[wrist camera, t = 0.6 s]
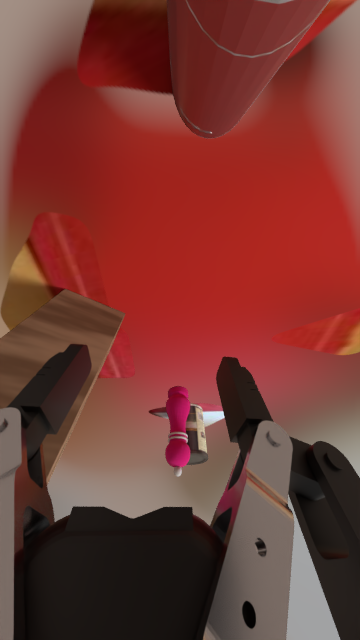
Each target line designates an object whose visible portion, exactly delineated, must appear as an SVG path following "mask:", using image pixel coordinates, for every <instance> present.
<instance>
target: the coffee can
mask: <svg viewBox="0 0 360 640" xmlns="http://www.w3.org/2000/svg"><path fill="white" fill-rule="evenodd" d="M185 429H186V434H187V435H188V437H187V439H188V442H187V445H188V446H189V448H190V459H189V461H188V463H187V464H186V465H194V464H200V463H204V462H206V461H207V460H208V455H207V449H206V439H205V431H204V422H203V413H202V408H201V407H200V406H199V405H196V404H191V403H190V411H189V414H188V417H187V420H186V428H185Z"/></svg>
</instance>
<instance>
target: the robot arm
mask: <svg viewBox="0 0 360 640" xmlns="http://www.w3.org/2000/svg"><path fill="white" fill-rule="evenodd" d="M329 1H330V0H167V15H168V32H169V48H170V66H171V80H172V91H173V96H174V100H175V104H176V107H177V110H178V112H179V114H180V117H181V118H182V120H183V121H184V123H185V125H186V126H187V127H188V128H189V129H190V130H191V131H192V132H193V133H195V134H197V135H198V136H200V137H204V138H216V137H219V136H222V135H224V134H225V133H227V132H229V131H230V130H231V129H232V128H233V127H234V126H235V125H236V124H237V123H238V121H240V119H241V118H242V116H243V115H244V114H245V113H246V111H247V110H248V109H249V108H250V106H251V105H252V104H253V102H254V101H255V100H256V98H257V97H258V95H259V94H260V93H261V92H262V90H263V89H264V88H265V86H266V85H267V83H268V82H269V81H270V80H271V78H272V77H273V76H274V74H275V73H276V72H277V70H278V69H279V68H280V66H281V65H282V64H283V62H284V61H285V60H286V58H287V57H288V56H289V54H290V53H291V52H292V50H293V49H294V48H295V46H296V45H297V44H298V42H299V41H300V40H301V38H302V37H303V36H304V34H305V33H306V32H307V30H308V29H309V28H310V26H311V25H312V24H313V22H314V21H315V20H316V18H317V17H318V16H319V14H320V13H321V12H322V10H323V9H324V8H325V6H326V5H327V4H328V2H329ZM91 367H92V363H91V358H90V354H89V350H88V346H87V345H84V344H70V345H69V346H68V347H67V349H66V350H65V351H64V352H59V353H57V354H56V355H54V356H53V357H51V358H50V359H49V360H48V361H47V362H46V363H45V364H44V365H43V367H42V369H40V370H39V371H38V372H37V373H36V376H34V377H33V378H32V379H31V380H30V381H29V383H28V384H27V385H26V386H25V387H24V388H23V389H22V391H21V392H20V393H19V394H18V395H17V396H16V397H15V399H14V400H13V401H12V402H11V403H10V404H9V405H8V406H7V407H6V408H3V409H0V640H286V632H287V618H288V603H289V590H290V577H291V562H292V548H293V535H294V517H293V513H292V511H291V510H290V509H289V507H288V501H287V500H288V494H289V497H290V500H291V503H292V505H293V508H294V511H295V514H296V516H297V519H298V522H299V525H300V528H301V531H302V533H303V536H304V539H305V541H306V544H307V547H308V550H309V553H310V556H311V558H312V561H313V564H314V566H315V569H316V572H317V575H318V578H319V581H320V583H321V586H322V589H323V592H324V595H325V598H326V600H327V603H328V606H329V609H330V611H331V614H332V617H333V620H334V623H335V625H336V628H337V631H338V634H339V637H340V639H341V640H360V478H359V476H358V475H357V473H356V472H355V470H354V469H353V467H352V465H351V464H350V462H349V461H348V460H347V458H346V457H345V456H344V455H343V454H342V453H341V452H340V451H339V450H338V449H337V448H335V447H334V446H332V445H330V444H329V443H326V442H323V441H318V442H316V443H314V444H313V445H309V444H307V443H304V442H302V441H299V440H297V439H294V438H292V437H289V436H288V434H287V433H286V432H285V430H284V429H283V428H281V427H280V426H279V425H278V424H276V423H274V422H273V420H272V418H271V416H270V414H269V411H268V409H267V407H266V405H265V403H264V401H263V398H262V396H261V394H260V392H259V391H258V388H257V385H256V384H255V381H254V379H253V377H252V375H251V373H250V372H249V371H248V370H247V369H246V368H245V367H241V366H240V364H239V362H238V359H237V358H233V357H223V358H222V361H221V364H220V366H219V369H218V372H217V377H216V380H217V386H218V391H219V395H220V399H221V403H222V408H223V412H224V416H225V420H226V425H227V428H228V433H229V437H230V441H231V442H236V443H238V444H239V448H240V450H239V452H238V455H237V457H236V460H235V463H234V466H233V469H232V472H231V475H230V477H229V480H228V483H227V486H226V489H225V491H224V493H223V496H222V497H221V499H220V502H219V503H218V506H217V508H216V511H215V513H214V516H213V519H212V522H211V524H210V526H209V525H208V524H207V523H206V522H205V521H204V520H202V519H201V518H199V517H197V516H195V515H193V513H192V507H163V508H160V509H158V510H155V511H153V512H150V513H148V514H145V515H143V516H140V517H137V518H134V519H132V518H128V517H126V516H124V515H122V514H119V513H117V512H115V511H112V510H110V509H108V508H105V507H73V508H72V511H71V514H70V515H68V516H66V517H64V518H62V519H60V520H58V521H56V522H55V521H54V520H55V519H54V511H53V505H52V501H51V498H50V495H49V493H48V488H47V481H46V471H45V462H44V452H43V444H42V442H43V440H44V438H45V437H46V435H47V434H54V435H56V434H57V433H58V431H59V429H60V427H61V425H62V423H63V422H64V420H65V418H66V416H67V414H68V412H69V411H70V409H71V407H72V405H73V403H74V401H75V400H76V398H77V396H78V394H79V392H80V390H81V388H82V387H83V385H84V383H85V381H86V379H87V377H88V376H89V374H90V371H91Z"/></svg>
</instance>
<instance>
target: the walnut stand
mask: <svg viewBox="0 0 360 640" xmlns="http://www.w3.org/2000/svg"><path fill="white" fill-rule="evenodd" d="M124 316H125V313H123V312H120V311H118V310H115V309H113V308H111V307H108V306H106V305H103V304H101V303H98V302H96V301H94V300H91V299H89V298H86V297H84V296H81V295H79V294H76V293H74V292H71V291H69V290H67V289H64V290H63V291H62V292H60V293H59V294H58V295H56V296H55V297H54V298H53V299H51V300H50V301H49V302H47V303H46V304H45V305H43V306H42V307H41V308H40V309H38V310H37V311H36V312H34V313H33V314H32V315H30V316H29V317H28V318H26V319H25V320H24V321H23V322H21V323H20V324H19V325H17V326H16V327H15V328H13V329H12V330H11V331H10V332H8V333H7V334H6V335H4V336H3V337H2V338H0V409H3V408H6V407H7V406H8V405H9V404H10V403H11V402H12V401H13V400H14V399H15V397H16V396H17V395H18V394H19V393H20V392H21V391H22V389H23V388H24V387H25V386H26V385H27V384H28V383H29V381H30V380H31V379H32V378H33V377H34V376H36V373H37V372H38V371H39V370H40V369H42V367H43V365H44V364H45V363H46V362H47V361H48V360H49V359H50V358H51V357H53V356H54V355H56V354H57V353H59V352H64V351H65V350H66V349H67V347H68V346H69V345H70V344H84V345H87V346H88V350H89V354H90V358H91V363H92V367H91V371H90V374H89V376H88V377H87V379H86V381H85V383H84V385H83V387H82V388H81V390H80V392H79V394H78V396H77V398H76V400H75V401H74V403H73V405H72V407H71V409H70V411H69V412H68V414H67V416H66V418H65V420H64V422H63V423H62V425H61V427H60V429H59V431H58V433H57V434H56V435H54V434H47V435H46V437H45V438H44V440H43V442H42V444H43V452H44V462H45V471H46V481H47V484H48V482H49V480H50V478H51V475H52V474H53V472H54V469H55V467H56V465H57V463H58V461H59V459H60V456H61V454H62V452H63V450H64V448H65V446H66V444H67V441H68V439H69V437H70V435H71V433H72V431H73V429H74V426H75V424H76V422H77V420H78V418H79V416H80V414H81V411H82V409H83V407H84V405H85V403H86V401H87V398H88V396H89V394H90V392H91V390H92V388H93V386H94V383H95V381H96V379H97V377H98V375H99V373H100V370H101V368H102V366H103V364H104V362H105V360H106V358H107V355H108V353H109V351H110V349H111V347H112V344H113V342H114V339H115V337H116V335H117V332H118V330H119V327H120V325H121V323H122V320H123V318H124Z"/></svg>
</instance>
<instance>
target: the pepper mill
mask: <svg viewBox="0 0 360 640" xmlns="http://www.w3.org/2000/svg"><path fill="white" fill-rule="evenodd" d="M168 398H169V399H168V400H167V402H166V411H167V414H168V417H169V420H170V428H171V430H170V434H169V435H168V438H169V439H168V442H169V444H168V446H167V448H166V452H165V455H166V460H167V462H168V463H169V465H171V466H173V467H175V468H174V474H175V475H176V476H180V475H181V472H182V469H181V467H183V466H185V465H186V464H187V463H188V461H189V459H190V448H189V446H188V445H187V442H188V439H187V437H188V435H187V434H186V429H185V428H186V420H187V417H188V414H189V411H190V402H189V400H188V399H187V398H188V391H187V389H186V388H184V387H181V386H176V387H172V388H171V389H170V390H169V391H168Z"/></svg>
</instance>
